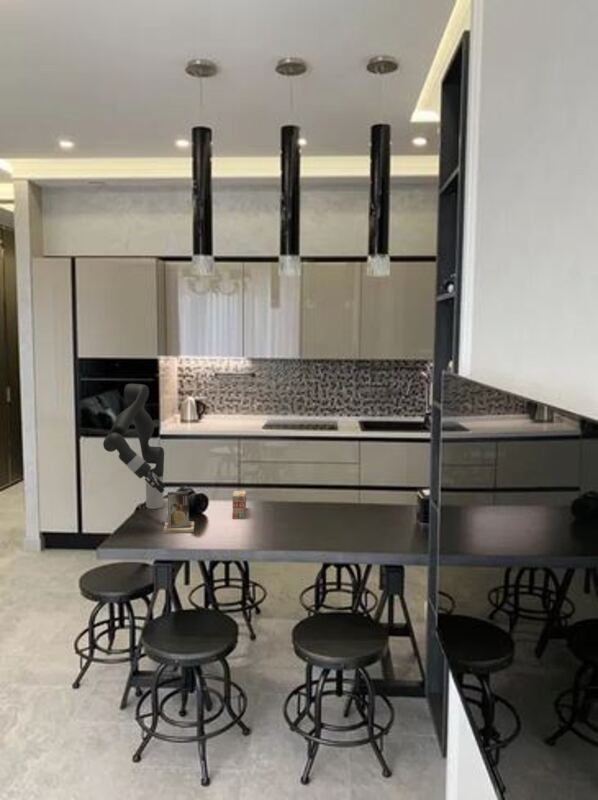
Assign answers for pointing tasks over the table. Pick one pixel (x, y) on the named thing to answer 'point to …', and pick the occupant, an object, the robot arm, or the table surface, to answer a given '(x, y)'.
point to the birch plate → (179, 528)
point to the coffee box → (178, 509)
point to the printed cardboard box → (239, 504)
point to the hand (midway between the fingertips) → (163, 489)
